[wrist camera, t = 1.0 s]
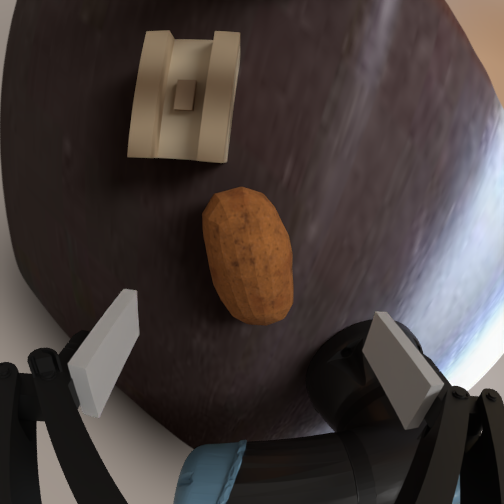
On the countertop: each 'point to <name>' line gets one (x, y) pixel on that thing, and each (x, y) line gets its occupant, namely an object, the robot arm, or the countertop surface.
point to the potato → (249, 256)
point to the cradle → (185, 97)
